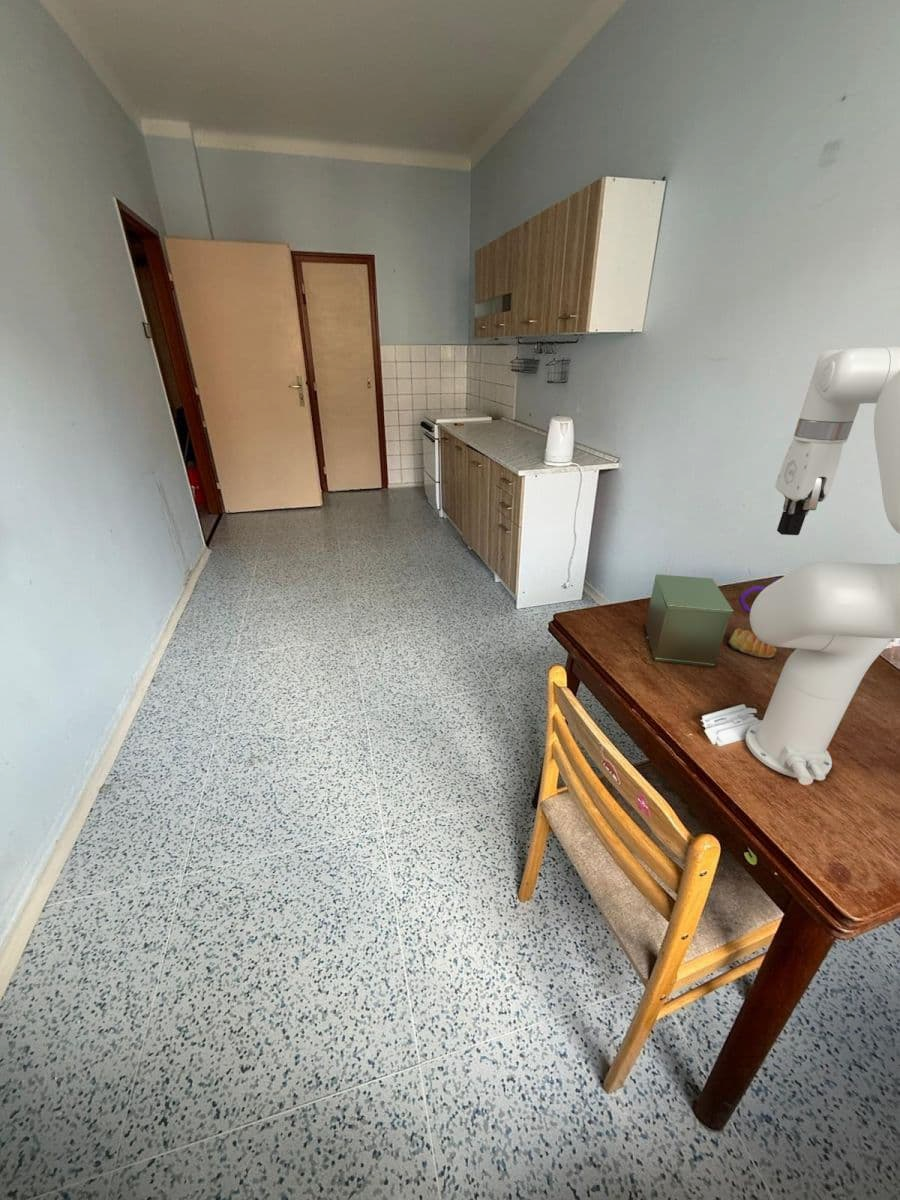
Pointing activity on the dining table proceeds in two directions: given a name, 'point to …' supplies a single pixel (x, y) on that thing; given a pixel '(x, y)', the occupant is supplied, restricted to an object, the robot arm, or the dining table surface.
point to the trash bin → (684, 633)
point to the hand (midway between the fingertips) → (787, 533)
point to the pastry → (750, 644)
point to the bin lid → (692, 594)
